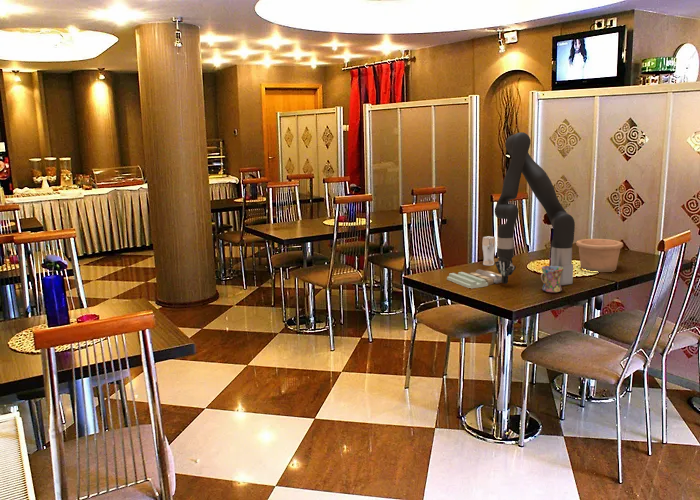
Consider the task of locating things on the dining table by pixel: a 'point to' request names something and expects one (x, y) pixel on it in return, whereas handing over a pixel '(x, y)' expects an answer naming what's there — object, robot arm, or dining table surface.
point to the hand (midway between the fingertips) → (504, 283)
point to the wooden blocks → (488, 280)
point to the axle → (490, 276)
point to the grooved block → (467, 280)
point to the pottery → (599, 254)
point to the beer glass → (488, 250)
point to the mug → (551, 278)
